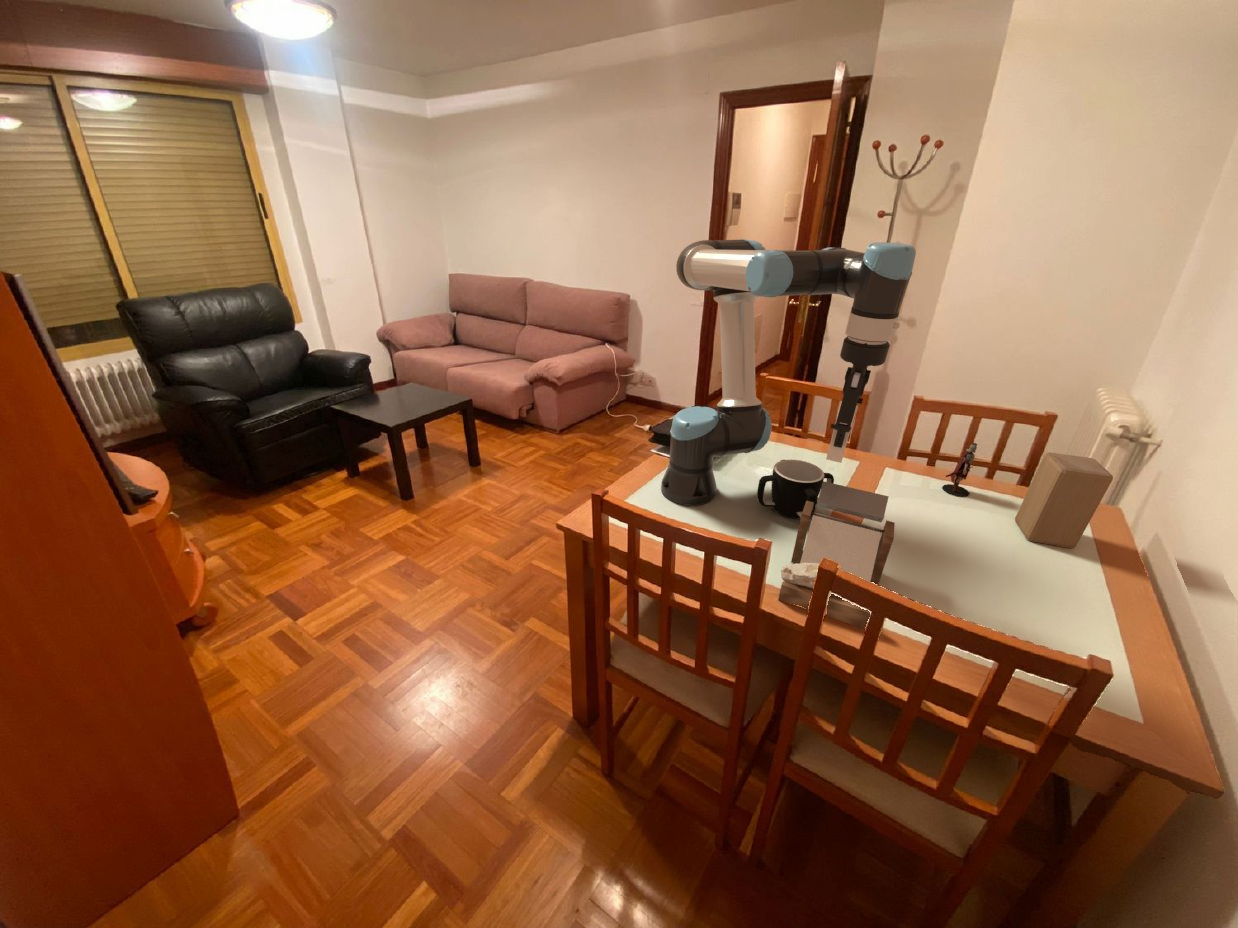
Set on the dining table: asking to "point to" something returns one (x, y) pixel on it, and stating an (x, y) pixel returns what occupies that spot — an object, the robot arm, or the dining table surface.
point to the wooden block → (1062, 499)
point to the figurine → (961, 473)
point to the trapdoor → (846, 530)
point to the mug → (793, 487)
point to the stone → (802, 575)
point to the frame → (835, 606)
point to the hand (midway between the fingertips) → (838, 446)
